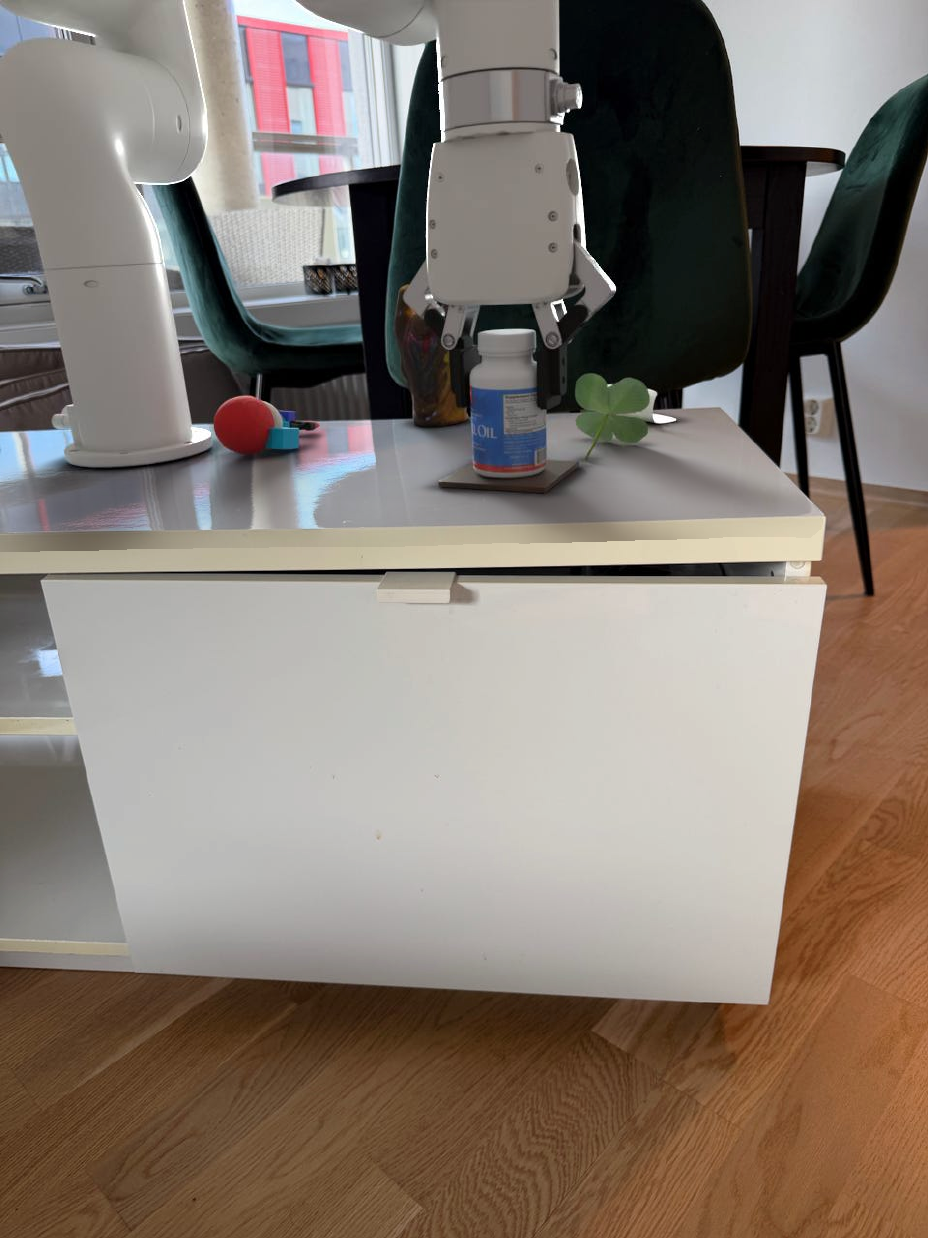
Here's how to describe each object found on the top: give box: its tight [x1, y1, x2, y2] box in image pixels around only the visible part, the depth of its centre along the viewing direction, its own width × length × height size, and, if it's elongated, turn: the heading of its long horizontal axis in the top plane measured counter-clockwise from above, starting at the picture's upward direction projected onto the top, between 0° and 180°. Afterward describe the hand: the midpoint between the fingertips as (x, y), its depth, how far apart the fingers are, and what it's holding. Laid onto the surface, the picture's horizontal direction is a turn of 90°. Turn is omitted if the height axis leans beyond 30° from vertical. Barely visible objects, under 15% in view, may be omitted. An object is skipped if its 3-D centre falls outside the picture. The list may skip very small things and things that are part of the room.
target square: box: [437, 459, 580, 494], centre depth 64 cm, size 8×8×1 cm
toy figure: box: [213, 395, 320, 455], centre depth 79 cm, size 8×5×15 cm
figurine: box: [393, 284, 469, 428], centre depth 85 cm, size 6×7×13 cm
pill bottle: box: [470, 328, 548, 478], centre depth 62 cm, size 6×5×10 cm
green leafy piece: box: [574, 372, 650, 461], centre depth 70 cm, size 7×8×6 cm
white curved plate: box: [607, 383, 677, 424], centre depth 83 cm, size 4×8×3 cm, turn 31°
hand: (508, 402), depth 62 cm, fingers closed on pill bottle, 5 cm apart
